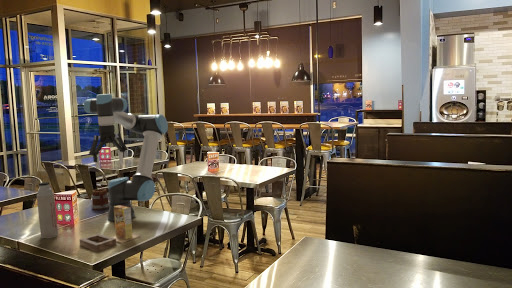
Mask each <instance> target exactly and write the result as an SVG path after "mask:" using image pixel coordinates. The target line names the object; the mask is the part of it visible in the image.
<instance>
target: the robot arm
mask: <svg viewBox="0 0 512 288" xmlns="http://www.w3.org/2000/svg"><path fill="white" fill-rule="evenodd" d="M127 108H128V102H127V100H126V99H125V98H123V97H113V96H112V94H111V93H101V94H97V95H96V97H95V98H89V99H85V101H84V102H83V111H84V112H85V113H87V114H96V115H97V121H98V125H99V126H98V133H99V135H93V142H92V144H91V146H90V149H89V151H88V155H90V156H92V158H93V163H95V164H94V165H95V166H94V167H95V169H97V170H99V169H101V163H100V155H98V154H99V153H100V151H101V150H102V148H103V147H104V145H106V144H113V145H114V147H115V148H116V149H117V150H119V151H118V160H119V161H118V162H119V165H121V166H122V165H125V163H124V162H125V161H124V160H125V159H124V158H125V152H126V151H127V150H128V147H127V145H126V144H125V142H124V140H123V138H122V135H121V133H120V132H116V131H115V130H116V129H115V127H116V126H115V125H114V124H115V123H116V124H118V125H120V126H122V127H123V128H124V129H125V130H128V131H130V132H134V133H135V134H141V135H143V142H142V146H141V150H140V154H139V159H138V163H137V168H136V172H135V174H133V175H132V178H131V179H130V178H129V176H125V177H124V176H123V177H119V178H115V179H111V180H110V181H108V183H107V192H108V194H109V196H108V201H109V202H110V207H109V208H108V212H107V220H108V221H110V222H115V217H114V206H118V205H122V206H127V207H131V219H133V218H135V216H136V213H135V210H134V208H133V206H132V202H133V201H134V202H146V201H150V200H151V199H152V198H153V197H154V195H155V193H156V184H155V182H154V179H153V177H152V173H153V168H154V163H155V159H156V155H157V150H158V145H159V141H160V140H161V139H162V138H163V135H165V134H167V132H168V129H169V127H168V126H169V123H168V121H167V118H166V117H165V115H163V114H156V113H155V114H134V113H127V112H125V111H127ZM115 138H116V139H115ZM99 140H100V141H99Z"/></svg>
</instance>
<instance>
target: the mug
mask: <svg viewBox="0 0 512 288" xmlns="http://www.w3.org/2000/svg"><path fill="white" fill-rule="evenodd" d="M91 192H92V193H91V196H90V198H91V199H92V202H91V203H92V204H91V206H90V207H91V209H92V210H93V211H102V210H107V209H109V208H110V201H109V192H108V189H107V188H99V189H98V188H96V189H93V190H92V191H91Z"/></svg>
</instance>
